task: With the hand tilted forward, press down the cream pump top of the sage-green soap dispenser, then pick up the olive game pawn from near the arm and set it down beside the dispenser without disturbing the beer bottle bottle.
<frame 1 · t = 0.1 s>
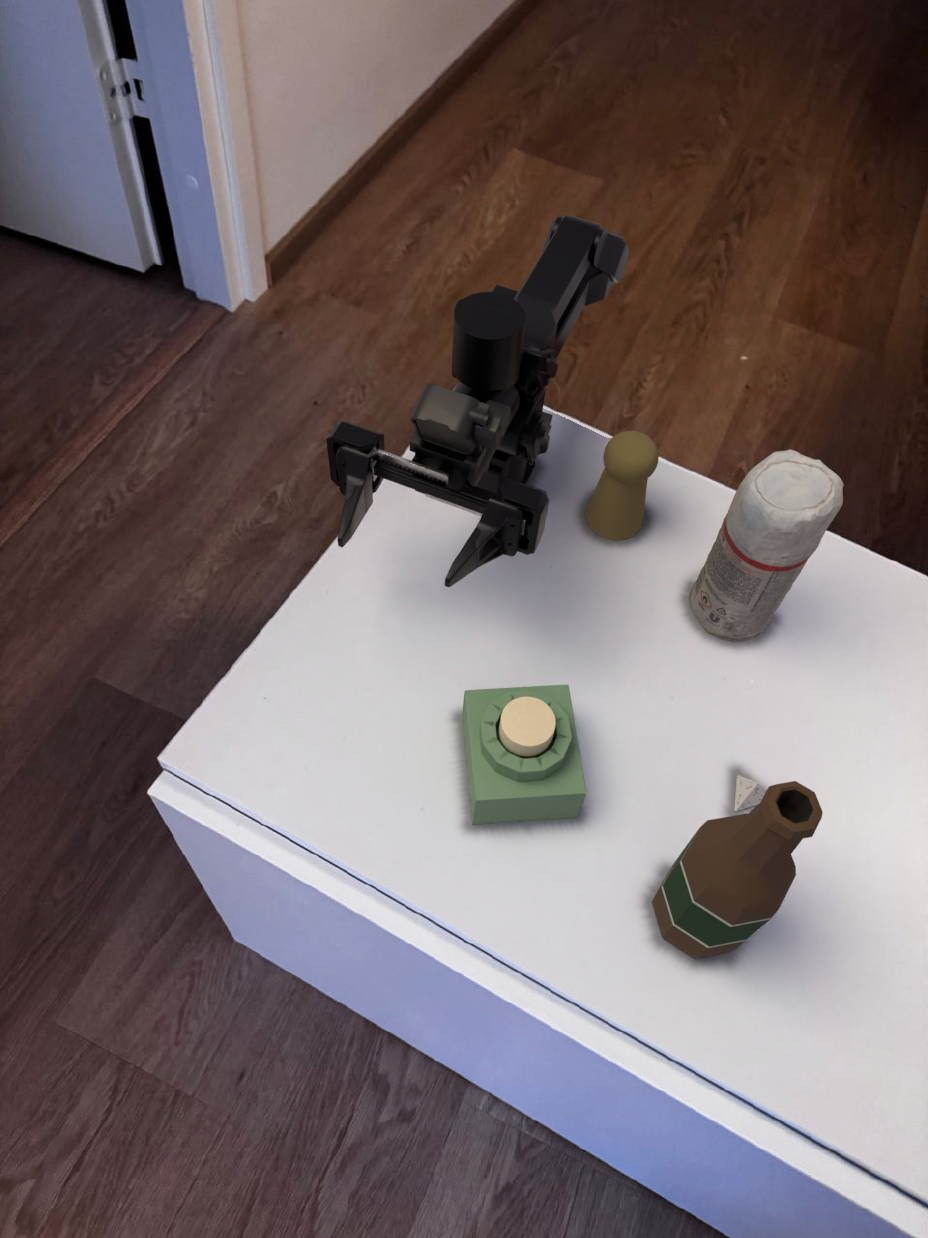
hand: (392, 563, 76), 17 cm above the table, tool horizontal, fingers open, 9 cm apart
spray can: (729, 610, 95), on the table
pump top: (527, 726, 78), point 8 cm above the table, slide at 0.1 cm
olive game pawn: (613, 518, 100), on the table
beer bottle: (696, 914, 79), on the table
white speckled wedge: (744, 792, 85), on the table
dispenser: (517, 766, 85), on the table
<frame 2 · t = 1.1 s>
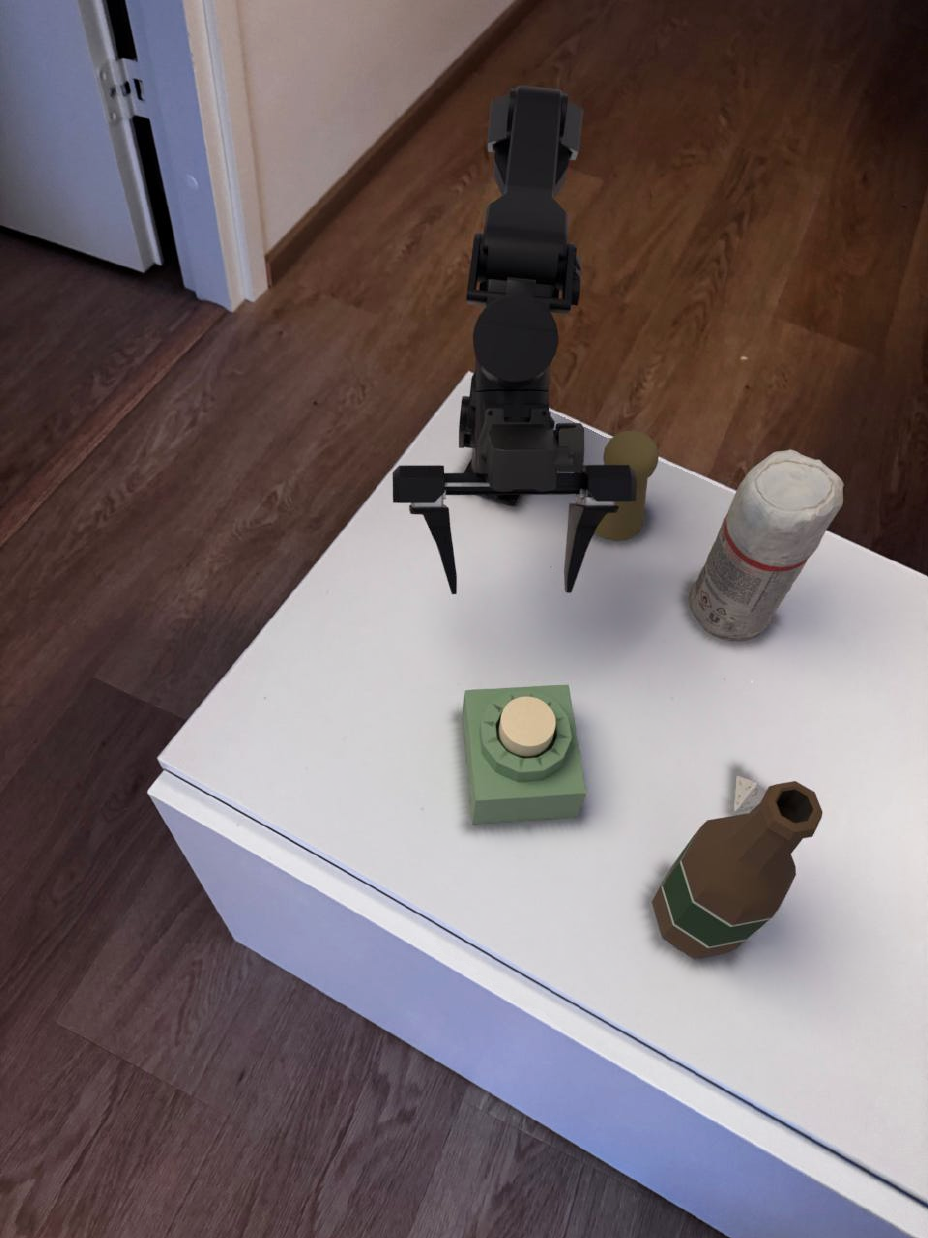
hand: (511, 592, 78), 14 cm above the table, tool tilted 50°, fingers open, 9 cm apart
nothing on the table moved.
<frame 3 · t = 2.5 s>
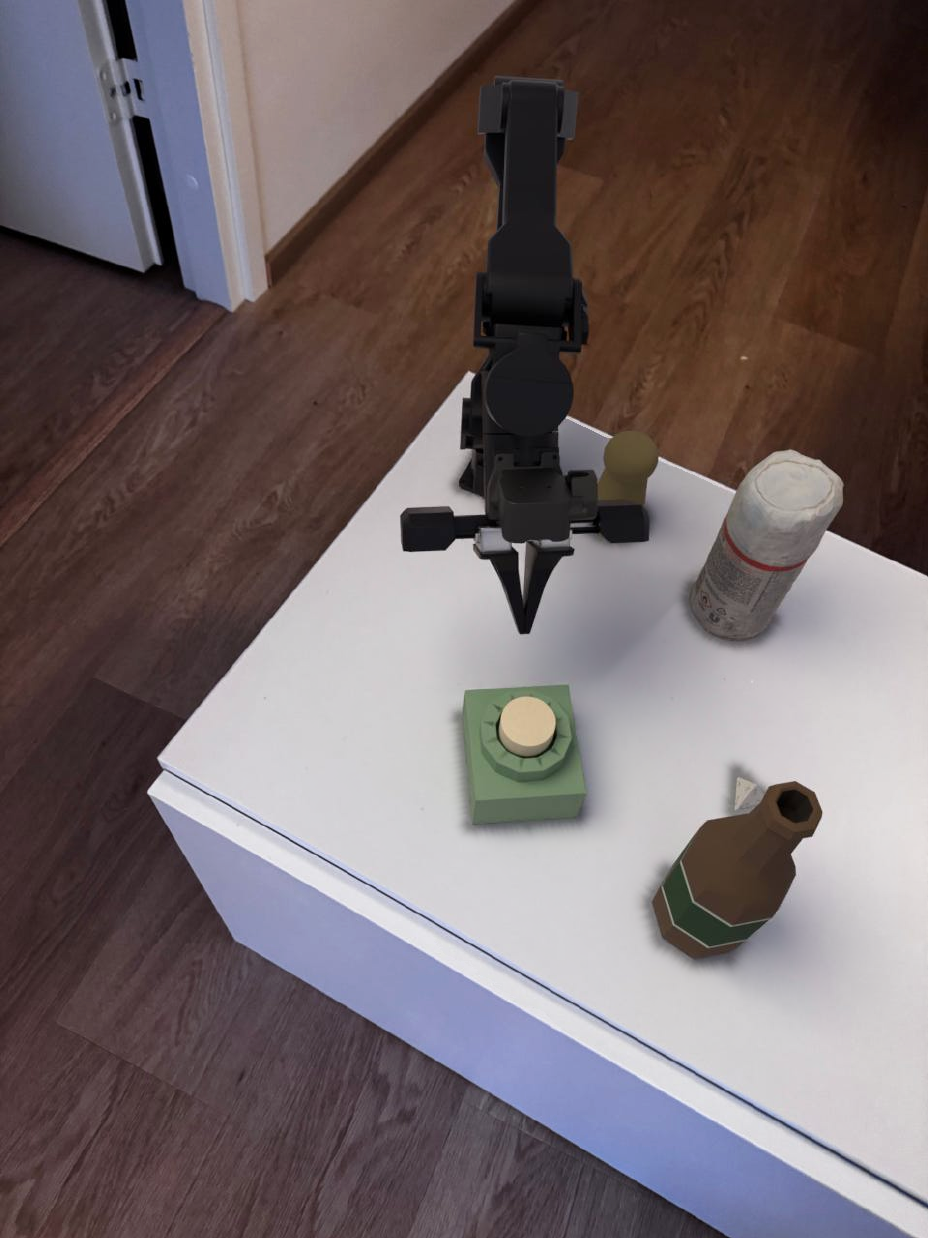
hand: (523, 633, 77), 13 cm above the table, tool tilted 45°, fingers closed
nothing on the table moved.
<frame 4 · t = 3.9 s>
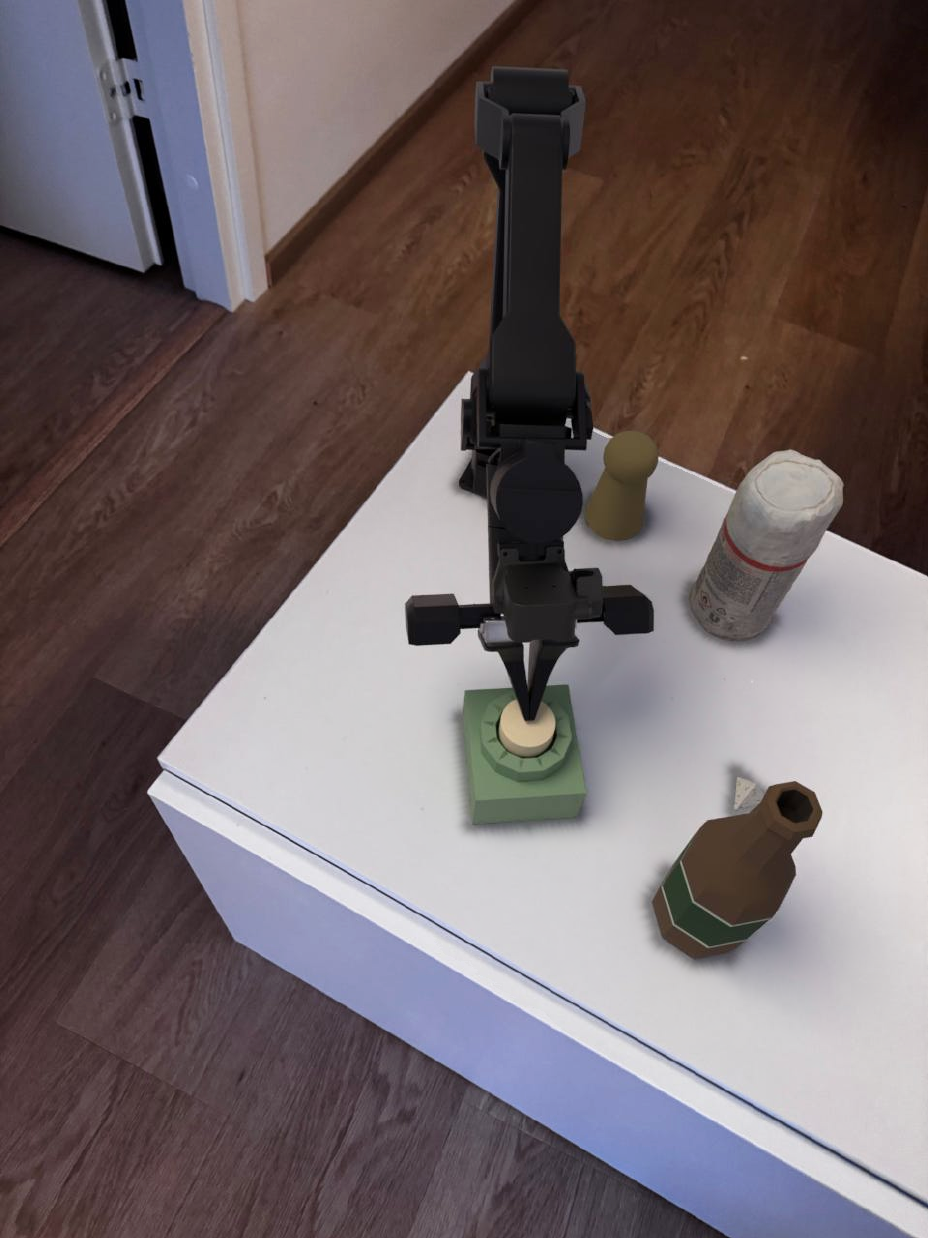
hand: (528, 719, 77), 9 cm above the table, tool tilted 45°, fingers closed, pressing on pump top
pump top: (526, 727, 78), point 8 cm above the table, slide at -0.1 cm, touching gripper
everything else where it was.
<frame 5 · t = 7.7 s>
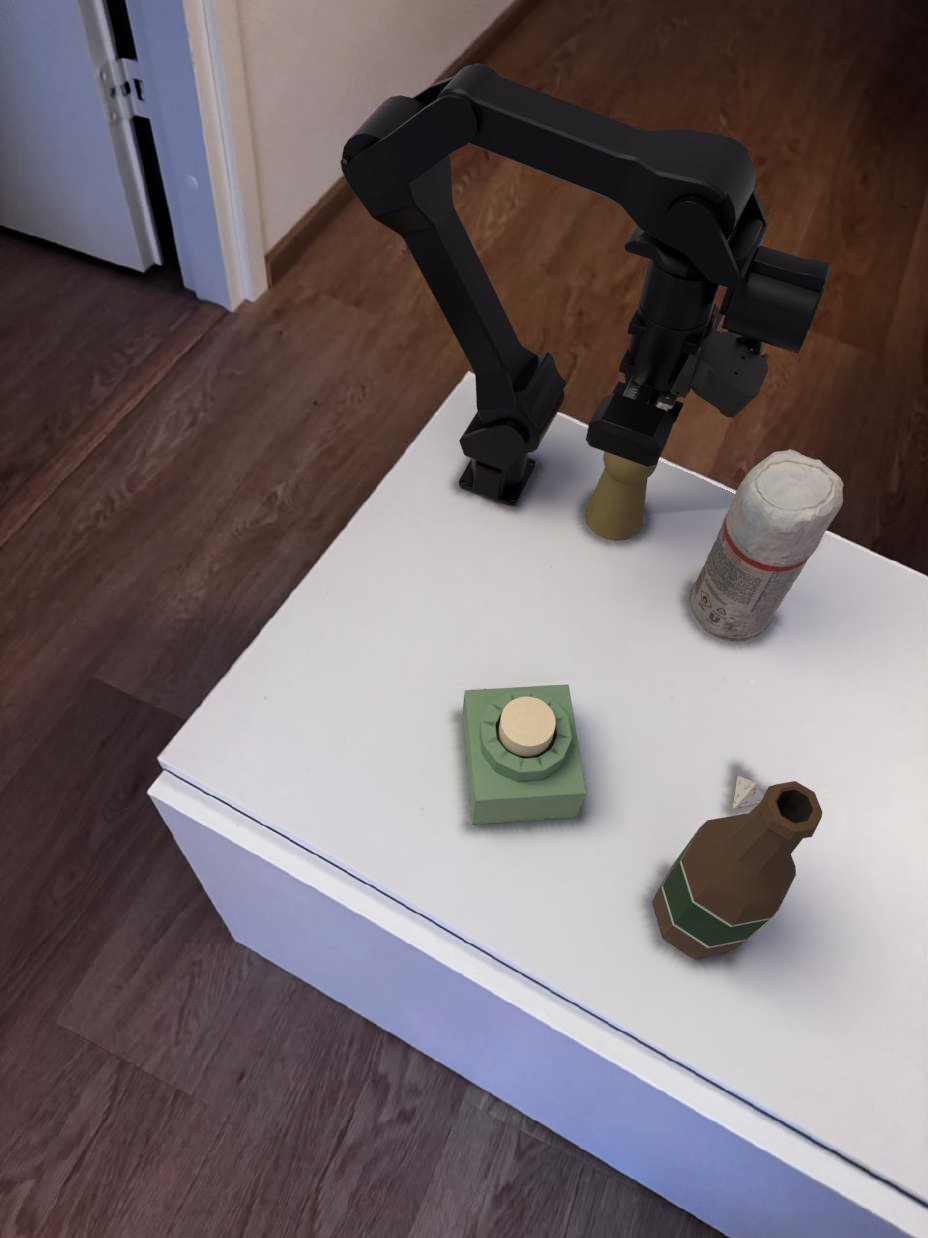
hand: (638, 441, 90), 12 cm above the table, tool pointing down, fingers closed
pump top: (527, 726, 78), point 8 cm above the table, slide at 0.1 cm
everything else where it was.
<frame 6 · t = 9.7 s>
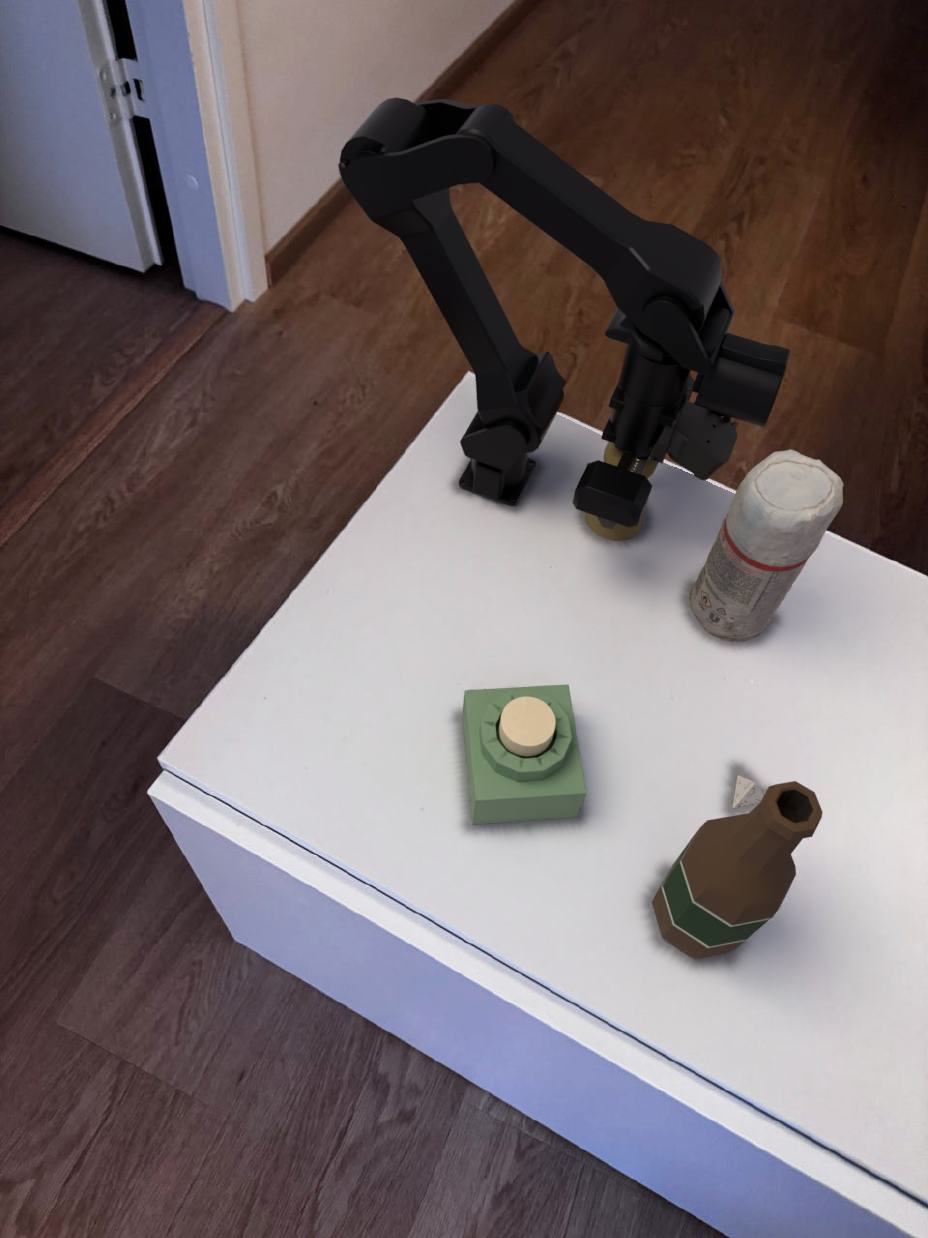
hand: (620, 497, 97), 3 cm above the table, tool pointing down
olive game pawn: (613, 518, 100), on the table, touching gripper
everything else where it was.
when the fingers open (4 cm above the table, at t = 15.8 s): olive game pawn stays where it is, on the table.
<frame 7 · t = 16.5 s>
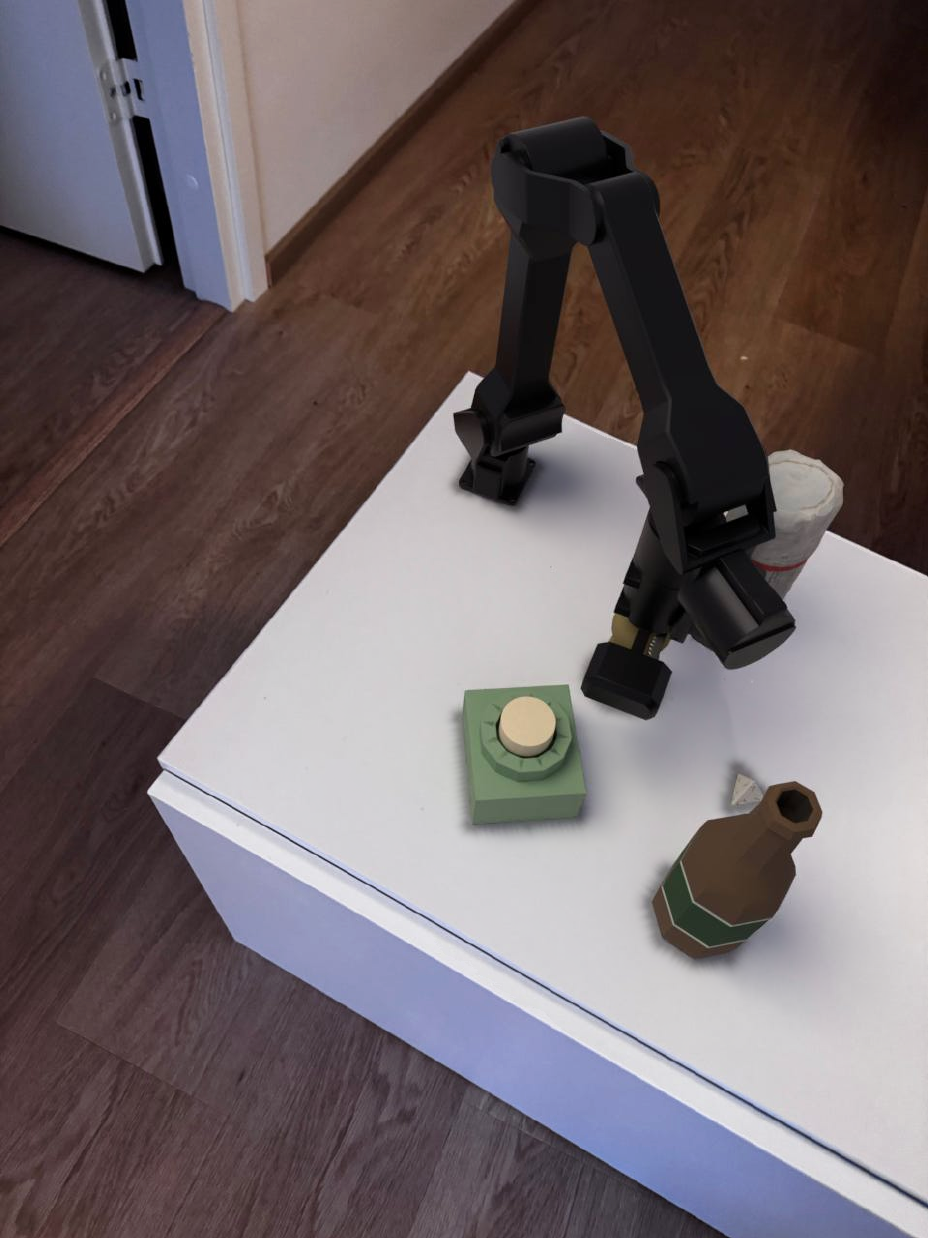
hand: (633, 660, 87), 4 cm above the table, tool pointing down, fingers open, 9 cm apart
olive game pawn: (621, 680, 90), on the table
everything else where it was.
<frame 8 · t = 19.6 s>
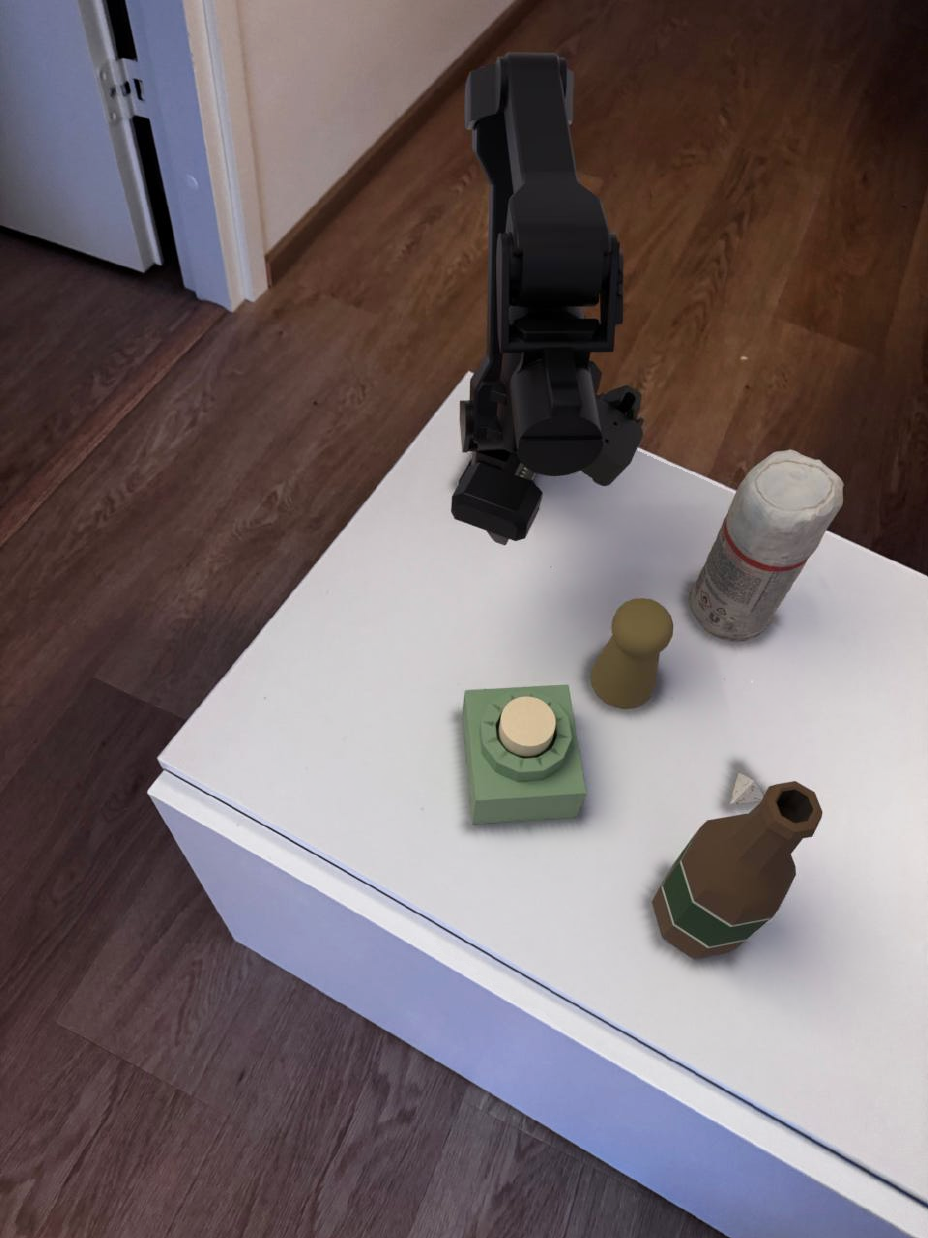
hand: (520, 504, 85), 12 cm above the table, tool pointing down, fingers open, 9 cm apart
nothing on the table moved.
at the end: pump top pushed in 1.5 cm at the most during the clip, back to where it started at the end; olive game pawn 0.3 cm from the target spot on the table beside the dispenser, on the table; beer bottle moved 0.2 cm from its start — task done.
